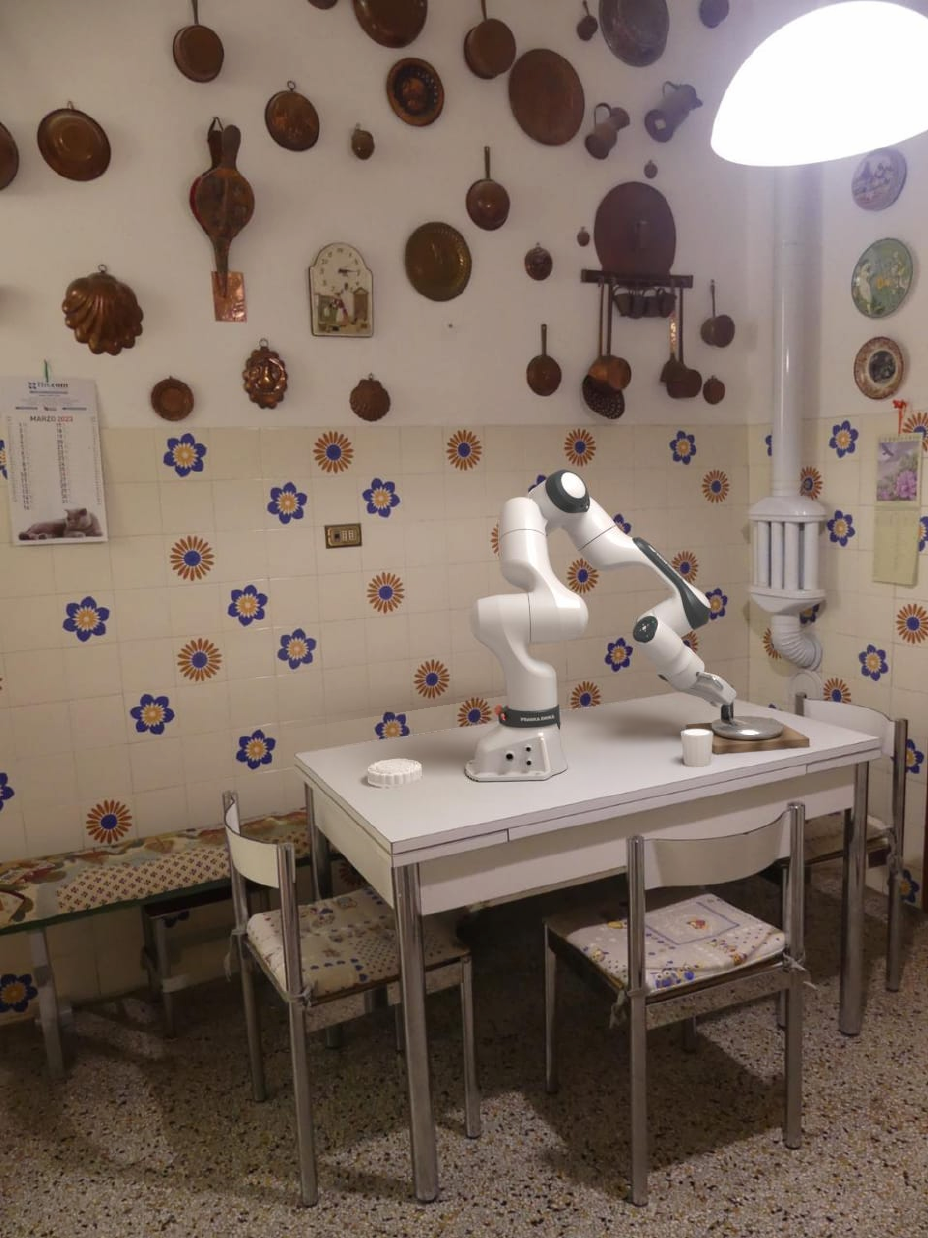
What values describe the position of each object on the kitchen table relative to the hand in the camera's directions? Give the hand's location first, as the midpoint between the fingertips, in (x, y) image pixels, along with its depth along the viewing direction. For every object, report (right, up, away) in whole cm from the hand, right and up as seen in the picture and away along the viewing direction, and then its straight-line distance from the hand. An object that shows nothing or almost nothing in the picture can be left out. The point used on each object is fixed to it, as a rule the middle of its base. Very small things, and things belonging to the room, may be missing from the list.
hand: (718, 704), depth 228 cm
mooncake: (-76, -15, -21) cm, 80 cm away
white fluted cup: (-10, -11, -20) cm, 25 cm away
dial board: (+5, -8, -4) cm, 10 cm away
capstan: (+5, -6, -5) cm, 9 cm away
